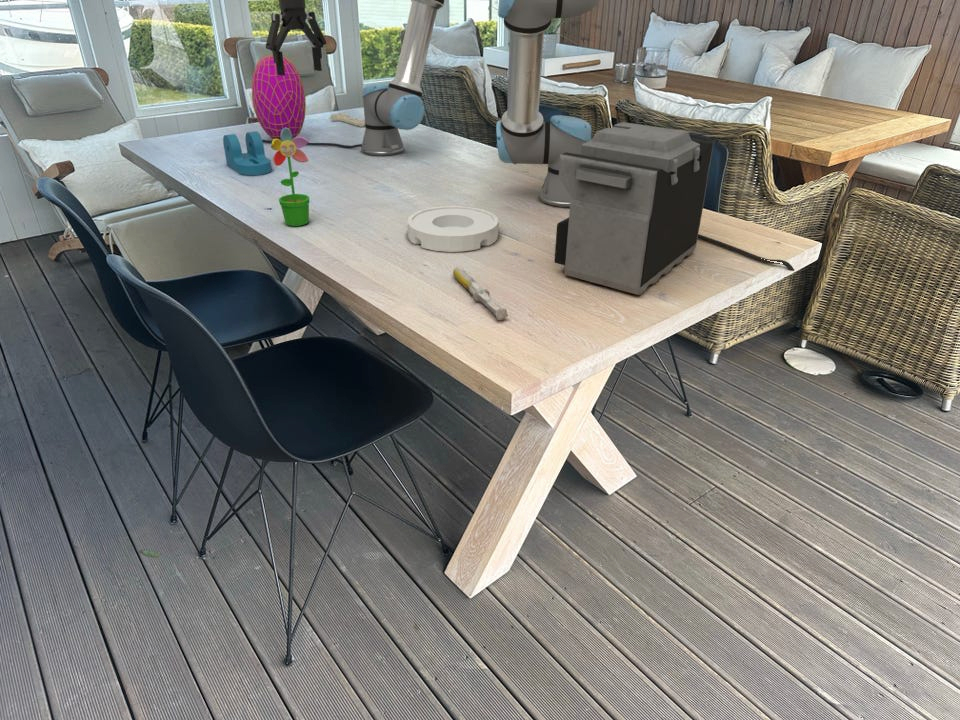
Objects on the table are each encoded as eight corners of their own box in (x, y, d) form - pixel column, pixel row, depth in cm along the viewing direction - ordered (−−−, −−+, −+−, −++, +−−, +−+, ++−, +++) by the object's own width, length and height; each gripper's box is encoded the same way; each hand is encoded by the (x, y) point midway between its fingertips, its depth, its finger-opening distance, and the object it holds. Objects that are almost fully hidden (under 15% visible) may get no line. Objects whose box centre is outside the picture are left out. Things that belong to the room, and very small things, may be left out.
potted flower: (284, 229, 179) (270, 130, 166) (277, 220, 185) (263, 124, 172) (319, 224, 183) (308, 127, 170) (311, 215, 188) (300, 121, 176)
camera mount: (227, 164, 233) (221, 132, 227) (257, 160, 238) (252, 129, 233) (244, 176, 220) (239, 143, 215) (276, 172, 225) (271, 139, 220)
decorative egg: (293, 132, 276) (283, 50, 261) (319, 140, 264) (310, 56, 249) (249, 139, 265) (236, 54, 250) (273, 148, 253) (261, 60, 238)
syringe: (449, 274, 155) (449, 263, 153) (465, 272, 156) (464, 260, 154) (490, 323, 135) (491, 310, 133) (508, 319, 136) (508, 307, 134)
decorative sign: (321, 115, 300) (341, 112, 306) (322, 117, 301) (341, 114, 307) (354, 125, 284) (374, 122, 289) (354, 127, 284) (374, 124, 290)
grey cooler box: (618, 231, 180) (632, 112, 165) (700, 250, 169) (723, 124, 154) (546, 276, 154) (555, 139, 139) (637, 301, 143) (657, 156, 128)
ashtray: (413, 219, 187) (412, 204, 185) (498, 221, 186) (498, 206, 184) (402, 250, 167) (401, 235, 165) (497, 252, 166) (498, 237, 164)
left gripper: (317, -8, 208) (324, 67, 219) (245, -6, 192) (257, 75, 203) (333, -7, 204) (340, 69, 215) (261, -5, 188) (272, 78, 198)
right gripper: (534, 15, 217) (530, 93, 228) (497, 19, 204) (495, 101, 216) (553, 17, 212) (549, 96, 224) (517, 20, 200) (514, 104, 212)
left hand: (300, 72), depth 209 cm, fingers open, 13 cm apart
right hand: (522, 98), depth 220 cm, fingers closed on brick, 6 cm apart
